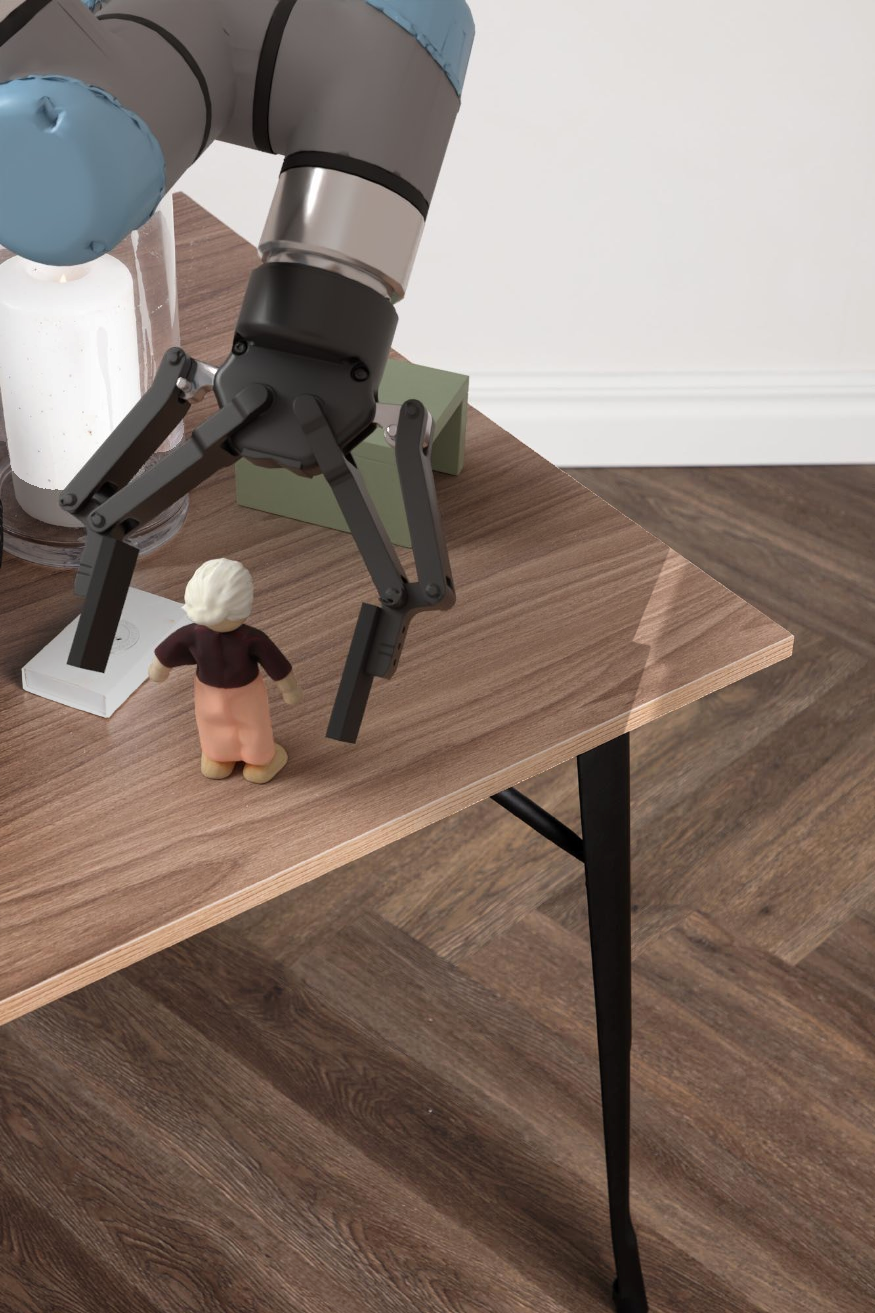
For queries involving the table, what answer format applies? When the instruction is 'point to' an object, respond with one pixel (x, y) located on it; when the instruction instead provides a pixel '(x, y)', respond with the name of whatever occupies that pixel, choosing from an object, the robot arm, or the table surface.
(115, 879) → the table surface
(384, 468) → the shelf
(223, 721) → the grandmother figurine
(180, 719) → the table surface
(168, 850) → the table surface
